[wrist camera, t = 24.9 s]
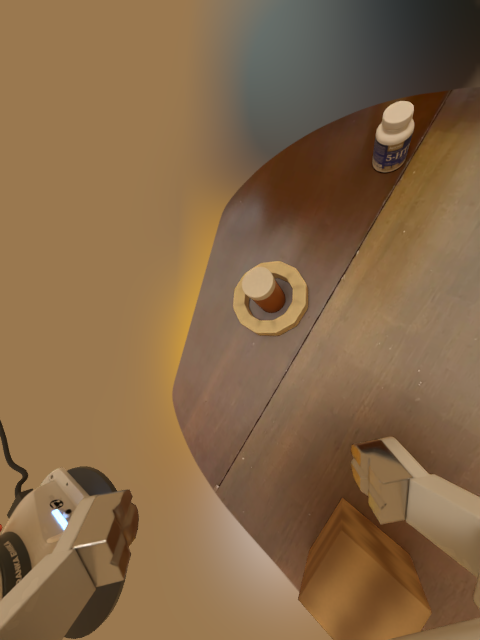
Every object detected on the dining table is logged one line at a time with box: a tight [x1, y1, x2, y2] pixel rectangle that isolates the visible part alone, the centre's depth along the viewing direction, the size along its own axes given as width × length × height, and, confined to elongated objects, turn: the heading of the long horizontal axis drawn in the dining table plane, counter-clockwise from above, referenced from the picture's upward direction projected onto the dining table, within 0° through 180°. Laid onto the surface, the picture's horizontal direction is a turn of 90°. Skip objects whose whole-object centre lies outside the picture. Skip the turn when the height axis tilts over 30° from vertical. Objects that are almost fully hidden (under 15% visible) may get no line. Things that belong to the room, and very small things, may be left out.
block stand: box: [298, 498, 432, 640], centre depth 29 cm, size 9×9×9 cm
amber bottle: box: [242, 267, 285, 313], centre depth 43 cm, size 5×5×9 cm
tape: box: [233, 261, 308, 336], centre depth 46 cm, size 14×14×2 cm
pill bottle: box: [372, 101, 414, 172], centre depth 41 cm, size 5×5×9 cm
